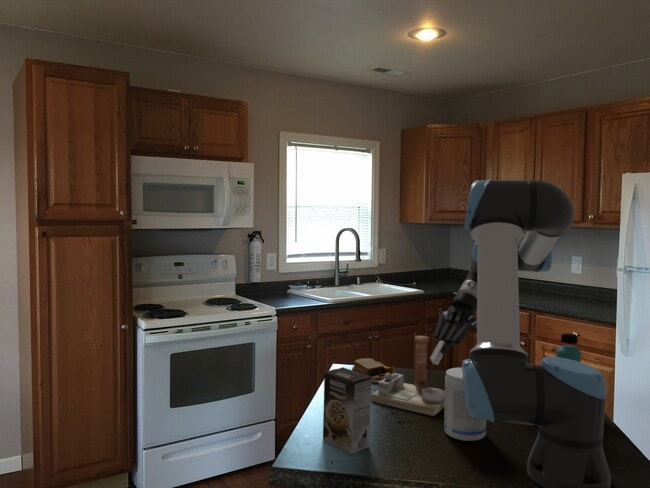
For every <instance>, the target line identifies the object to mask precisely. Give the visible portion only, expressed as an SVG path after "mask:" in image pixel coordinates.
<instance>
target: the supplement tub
mask: <svg viewBox="0 0 650 488" xmlns="http://www.w3.org/2000/svg"><path fill="white" fill-rule="evenodd" d="M444 378H445V380H444V391H445V407H444V417H443V418H444V419H443V421H444V422H443V423H444V424H443V425H444V426H443V427H444V429H443V430H444V432H445V434H446V435H447V436H448V437H451V438H452V439H455V440H459V441H465V442H474V441H475V442H476V441H480V440H482V439H483V438H485V436H486V433H487V420H481V419H475V418H473V417H472V416H471V415H470V414H469V413H468V410H467V407H466V401H465V394H464V386H463V371H462V367H452V368H449V369H447V370H446V371H445V377H444Z"/></svg>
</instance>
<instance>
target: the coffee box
mask: <svg viewBox="0 0 650 488" xmlns="http://www.w3.org/2000/svg"><path fill="white" fill-rule="evenodd" d="M323 381H324V382H323V419H322V420H323V421H322V422H323V423H322V424H323V425H322V442H323V443H325V444H328V445H330V446H332V447H334V448H336V449H338V450H341V451H344V452H345V453H347V454H349V455H353V454H356V453H358V452H360V451H362V450H365V449H367V448H370V436H371V431H370V430H371V410H372V409H371V408H372V401H371V394H372V384H373V383H372V376H368V375H365V374H362V373H359V372H356V371H353V370H352V369H350V368H346V367H339V368H335V369H334V368H333V369H331V370H327V371H325V372H324V377H323Z"/></svg>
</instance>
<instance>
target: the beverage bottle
mask: <svg viewBox="0 0 650 488" xmlns="http://www.w3.org/2000/svg"><path fill="white" fill-rule="evenodd" d="M560 342H561V343H564V344H562V345H560V346H558V347H557V348H556V349H555V351H556V353H555V354H556V355H555V357H560V358H566V359H570V360H574V361H578V362H581V363H582V350H580V349H579V347H577V346H574V345H577V344H578V335H577V334H574V333H562V334H561V337H560Z"/></svg>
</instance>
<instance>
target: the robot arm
mask: <svg viewBox="0 0 650 488" xmlns="http://www.w3.org/2000/svg"><path fill="white" fill-rule="evenodd" d="M575 211H576V210H575V206H574V204H573V202H572V200H571V198H570V196H569V195H568V194H567V193H566V192H565V191H564V190H563V189H562V188H560V187H559V186H558V185H556V184H554V183H551V182H549V181H545V180H537V179H533V180H525V179H523V180H522V179H521V180H518V179H517V180H516V179H507V180H506V179H502V180H500V179H493V178H490V179H483V180H482V179H481V180H475V181H473V182H472V184H471V185H470V189H469V195H468V201H467V207H466V212H465V213H466V214H465V219H464V220H465V221H464V229H465V230H468V231H470V237H471V239H473V240H474V241H475V242H474V244H473V247H472V252H471V262H470V267H469V272H468V274H467V275H466V277H465V279H464V281H463V283H462V284H461V286H460V288H459V289H458V292H457V293H456V294H455V296H454V298H453V300H452V303H451V306H450V307H449V308H448V309H447V310H445V311H443V310H439V312H438V316H439V317H438V319H437V320H438V321H437V322H436V327H435V330H434V333H433V338H434V339H435V341H436V343H434V346H433V348H432V350H433V352H432V354H431V355H430V357H429V360H430V361H431V362H432V364H433V365H435V366H438V365H439V364H440V362H441V360H442V359H443V356H446V355H447V353H448V352H449V350H450V348H451V347H452V346H454V347H458V346H459V345H460V343H462V341H463V340H464V339H465V337H466V336H467V335H468V334H469V333H470V332H471V330H472V329H473V328H475V327H476V345H474V347H473V348H471V349H470V351H469V352H468V353H469V355H468V356H469V357H468V358H466V359H463V360H462V363H461V368H462V371H463V386H464V394H465V401H466V407H467V410H468V413H469V414H470V415H471V416H472V417H473V418H475V419H481V420H486V421H487V422H488V421H489V422H491V423H494V422H497V423H498V422H500V423H509V424H510V423H511V424H519V425H520V424H521V425H530V426H538V430H537V432H538V433H537V436H536V439H535V441H534V444H533V446H532V449H531V451H530V453H529V456H528V459H527V461H526V463H527V464H526V465H527V466H526V469H527V470H526V471H527V472H526V473H527V475H528V477H529V478H530V479H531V480H532V481H533V482H534V483H536V484H537V485H539V486H540V487H541V488H611V480H612V476H611V472H610V468H609V465H608V462H607V458H606V454H605V452H604V448H603V445H604V443H603V442H604V441H603V440H604V429H605V428H604V426H605V424H604V423H605V409H606V408H605V407H606V399H607V388H606V385H607V384H606V377H605V375H604V374H603V373H602V372H601V371H600V370H598V369H597V368H595V367H594V366H592V365H590V364H587V363H584V362H582V361H581V362H578V361H574V360H570V359H566V358H560V357H556V356H546V357H543V358H542V359H541V361H540V364H539V365H538V364H529V355H528V353H527V352H526V351H525V350H524V349H523V348H522V347H521V339H520V337H521V336H520V332H521V331H520V296H519V272H533V273H534V272H535V273H539V272H540V273H541V272H545V273H546V272H548V271H550V269H551V268H552V263H553V254H552V248H553V247H554V245H555V244H556V242H557V241H558V239H559V237H561V236H563V235H565V234H566V233H567V232H568V231H569V230H570V228H571V227H572V225H573V223H574V220H575ZM525 232H526V233H525ZM521 240H522V242H521V243H520V244H518V243H519V242H520V241H521ZM475 315H476V317H475Z"/></svg>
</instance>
